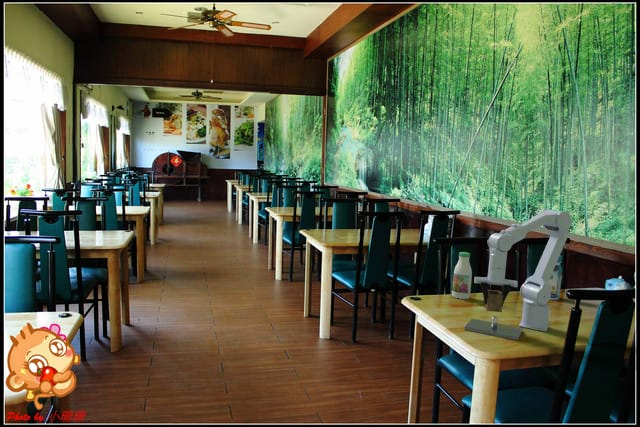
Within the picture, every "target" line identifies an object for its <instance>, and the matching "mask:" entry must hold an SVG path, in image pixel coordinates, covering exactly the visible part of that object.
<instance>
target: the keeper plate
mask: <svg viewBox="0 0 640 427" xmlns="http://www.w3.org/2000/svg"><path fill="white" fill-rule="evenodd" d="M498 322H499V316H495V315H493V316H491V321H488V320H482V319H478V318H471V319H470V320H469V321H468V322H467V323H466V324H465V326H464V331H468V332H473V333H477V334H478V333H479V334H484V335H488V336H494V337H498V338H503V339H508V340H513V341H517V342H518V341H520V338H521V336H522V334H523V331H524V327H520V326H514V325H513V326H512V325H507V324H502V323H498Z"/></svg>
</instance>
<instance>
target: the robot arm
mask: <svg viewBox="0 0 640 427" xmlns="http://www.w3.org/2000/svg"><path fill="white" fill-rule="evenodd" d="M572 223H573V219H572V217H571V214H570V213H569V212H568V211H565V210H555V209H550V208H544V209H542V210H540V211H538V213H537V214H536V215H535V216H533V217H532V218H530V219H528V220H527V221H525V222H523V223H522V224H519V223H512V224H511V226H510V227H508V228H506V229H502V230H501V231H500V232H499V233H498V232H494V233H493V234H491V235H490V236H489V238H488V239H487V246H488V248H489V251H488V252H489V260H488V261H489V262H488V272H487V276H485V277H484V276H483V277H482V276H474V279H473V280H474V281H473V282H474V284H479V286H480V288H481V292H482V296H483V304H484V305H485V304H487V293H488V290H489V285H495V286H501V293H502V294H503V304H502V307H504V304H505V301H506V299H507V297H508V295H509V293H510V292H511V290H512V287H514V288H517V287H518V281H517V280H512V279H506V278H505V277H506V267H507V257H508V251H510V250H511V248H512V246H513V245H514V244H517V243H518V242H520V241H522V240H523V239H525V238H527V237H526V236H527V233H530V232H532V231H534V230H536V229H538V228H541V227H543V228H544V229H545V230H546V232H547V233H548V234H549V239H548V241H547V244H546V245H545V248H544V250H543V252H542V255H541V256H540V259H539V261H538V264H537V266H536V268H535V271H534V273H533V275H531V276H528V277H527V278H526V280H525V282H524V283H523V284H521V286H520V290H519V293H520V296H521V298H522V301H523V303H522V304H523V305H522V312H521V313H522V316H521V320H520V323H519V325H518V327H519V328H526V329H531V330H537V331H542V332H547V331H548V328H549V326H550V321H551V320H550V316H551V315H550V314H551V305H548V303H549V301H550V300H551V299H550V296H551V290H552V286H551V285H550V283H549V279H550V277H551V274H552V272H553V270H554V267H555V265H556V263H557V260H558V258H559V256H560V255H561V253H562V251H563V249H564V246H565V243H566V241H567V240H568V237H569V236H568V235H569V230H570V228H571V227H572Z"/></svg>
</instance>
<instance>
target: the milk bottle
mask: <svg viewBox="0 0 640 427" xmlns="http://www.w3.org/2000/svg"><path fill="white" fill-rule="evenodd" d="M470 257H471V253H470V252H466V251H460V252H458V261H457V263H456V265H455V267H454V270H453V279H452V286H451V287H452V288H451V297H452V296H453V297H452V298H454V299H457V298H459V299H458V300H469V299H470V297H471V287H472V276H473V275H472V274H473V272H472V271H473V270H472V267H471V264H470Z"/></svg>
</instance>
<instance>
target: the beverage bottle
mask: <svg viewBox="0 0 640 427" xmlns="http://www.w3.org/2000/svg"><path fill="white" fill-rule="evenodd" d="M562 262H563V256H562V255H561V254H560V256H559V258H558V260H557V263H556V265H555V267H554V270H553V272H552V274H551V277H550V279H549V283H550V285H551V286H552V290H551V296H550V300H556V301H557V300H559V299H560V292H561V287H562V286H561V285H562V284H561V283H562V278H563V275H562V274H563V267H562V265H561V264H562Z"/></svg>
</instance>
